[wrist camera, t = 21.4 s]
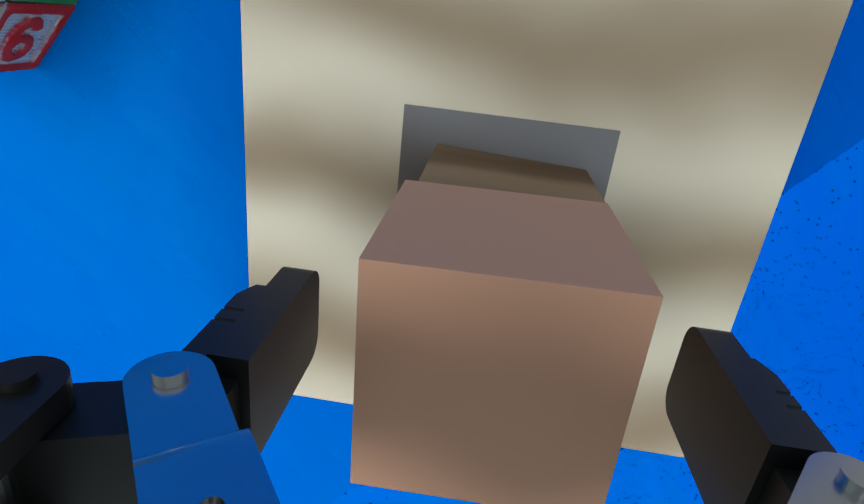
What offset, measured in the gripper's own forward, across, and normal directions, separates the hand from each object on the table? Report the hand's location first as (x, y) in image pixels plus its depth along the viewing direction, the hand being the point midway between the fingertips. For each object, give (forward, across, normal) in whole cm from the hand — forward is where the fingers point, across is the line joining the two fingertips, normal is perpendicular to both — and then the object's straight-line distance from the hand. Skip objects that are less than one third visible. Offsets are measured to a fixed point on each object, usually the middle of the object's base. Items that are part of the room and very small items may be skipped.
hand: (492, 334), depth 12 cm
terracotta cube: (+3, 0, 0) cm, 3 cm away
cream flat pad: (+9, 0, 0) cm, 9 cm away
